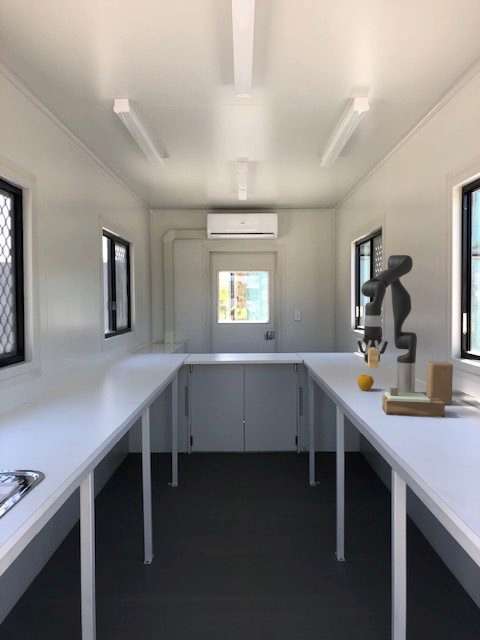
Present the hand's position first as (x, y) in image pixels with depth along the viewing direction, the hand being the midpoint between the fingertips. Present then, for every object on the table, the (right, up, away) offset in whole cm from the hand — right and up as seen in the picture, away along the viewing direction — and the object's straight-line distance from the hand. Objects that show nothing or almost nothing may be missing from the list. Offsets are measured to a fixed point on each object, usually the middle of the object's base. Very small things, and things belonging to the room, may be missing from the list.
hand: (371, 362), depth 205 cm
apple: (+9, -20, +44) cm, 49 cm away
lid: (+14, -16, -5) cm, 22 cm away
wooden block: (+37, -21, +14) cm, 45 cm away
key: (0, -2, 0) cm, 2 cm away
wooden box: (+17, -22, -5) cm, 28 cm away
